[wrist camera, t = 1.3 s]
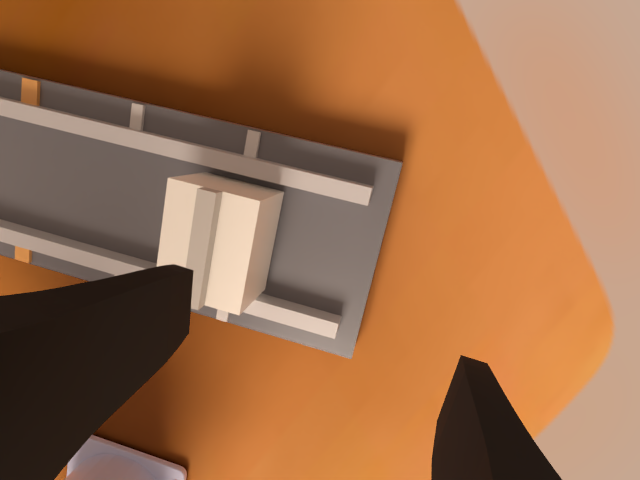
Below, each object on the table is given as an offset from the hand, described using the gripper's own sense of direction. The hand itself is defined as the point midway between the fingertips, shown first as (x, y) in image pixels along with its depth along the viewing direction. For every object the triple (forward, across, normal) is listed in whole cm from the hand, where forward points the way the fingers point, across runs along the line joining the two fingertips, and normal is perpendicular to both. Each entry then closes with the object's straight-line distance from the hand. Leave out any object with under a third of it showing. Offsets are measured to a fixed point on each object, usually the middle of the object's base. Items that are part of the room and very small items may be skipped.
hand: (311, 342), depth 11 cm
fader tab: (+9, +7, +2) cm, 12 cm away
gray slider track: (+10, +13, +2) cm, 17 cm away
